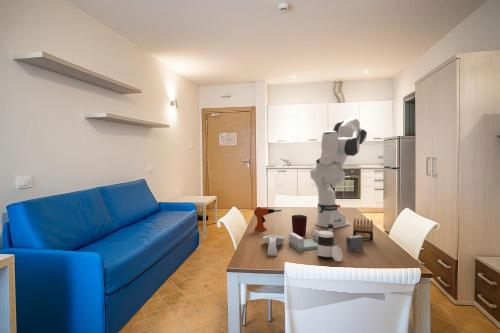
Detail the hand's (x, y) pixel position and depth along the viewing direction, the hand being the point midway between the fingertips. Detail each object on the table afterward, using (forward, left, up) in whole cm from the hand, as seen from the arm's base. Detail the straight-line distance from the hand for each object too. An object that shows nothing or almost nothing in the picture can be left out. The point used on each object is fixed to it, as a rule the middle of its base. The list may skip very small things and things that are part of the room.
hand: (328, 186), depth 156 cm
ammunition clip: (-21, +2, -31) cm, 38 cm away
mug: (+8, -19, -31) cm, 37 cm away
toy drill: (+23, -32, -31) cm, 50 cm away
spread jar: (+13, +20, -31) cm, 39 cm away
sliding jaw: (+3, +1, -29) cm, 29 cm away
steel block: (-5, +15, -31) cm, 35 cm away
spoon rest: (+32, -2, -31) cm, 44 cm away
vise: (+11, +1, -31) cm, 32 cm away
